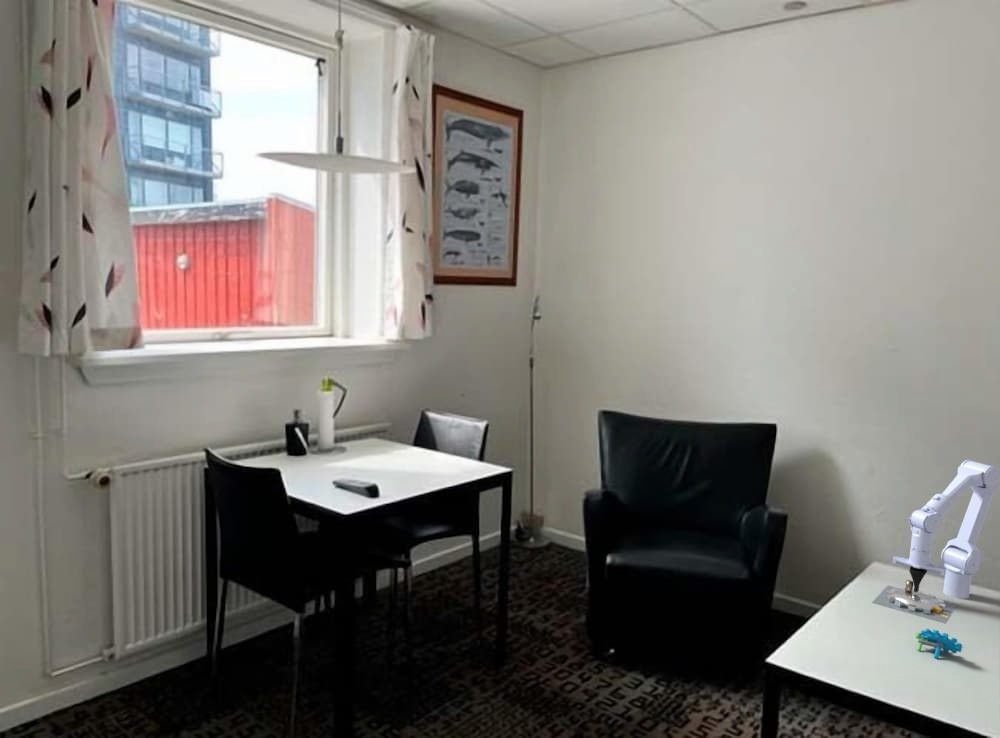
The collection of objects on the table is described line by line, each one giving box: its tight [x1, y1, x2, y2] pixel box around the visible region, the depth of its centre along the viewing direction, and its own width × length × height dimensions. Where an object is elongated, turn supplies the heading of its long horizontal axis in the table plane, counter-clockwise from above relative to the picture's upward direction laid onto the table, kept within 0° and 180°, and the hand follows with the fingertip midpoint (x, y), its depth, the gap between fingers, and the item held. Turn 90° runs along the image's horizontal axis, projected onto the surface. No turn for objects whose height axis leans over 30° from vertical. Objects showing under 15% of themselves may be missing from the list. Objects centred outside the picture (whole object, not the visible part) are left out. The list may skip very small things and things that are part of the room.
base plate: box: [871, 585, 959, 624], centre depth 238 cm, size 20×20×1 cm
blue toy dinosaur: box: [915, 628, 963, 660], centre depth 205 cm, size 11×6×10 cm
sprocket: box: [886, 579, 945, 614], centre depth 237 cm, size 16×16×5 cm
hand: (916, 591), depth 242 cm, fingers closed
